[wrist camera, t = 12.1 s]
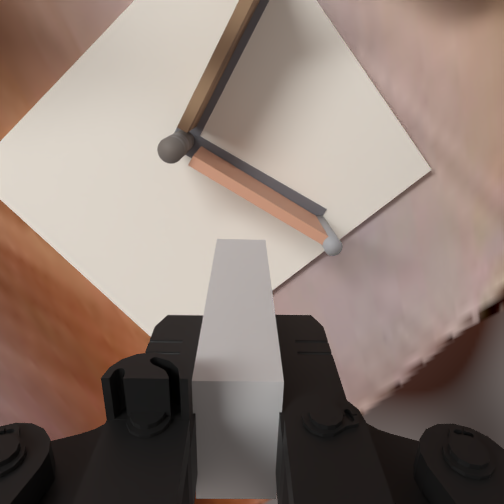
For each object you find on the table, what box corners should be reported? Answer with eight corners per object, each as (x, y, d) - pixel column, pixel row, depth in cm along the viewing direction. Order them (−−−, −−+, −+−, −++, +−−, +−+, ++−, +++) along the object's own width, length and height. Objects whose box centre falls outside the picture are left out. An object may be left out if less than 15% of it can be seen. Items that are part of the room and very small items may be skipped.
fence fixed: (261, -43, 31) (266, -80, 24) (281, -29, 31) (292, -61, 25) (169, 144, 35) (153, 155, 29) (188, 155, 36) (176, 168, 29)
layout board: (240, -108, 30) (240, -112, 29) (428, 168, 37) (432, 169, 37) (-25, 171, 36) (-31, 172, 36) (179, 358, 44) (178, 362, 43)
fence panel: (195, 157, 36) (184, 170, 29) (202, 142, 35) (194, 153, 29) (320, 232, 38) (335, 258, 32) (329, 220, 38) (346, 244, 32)
